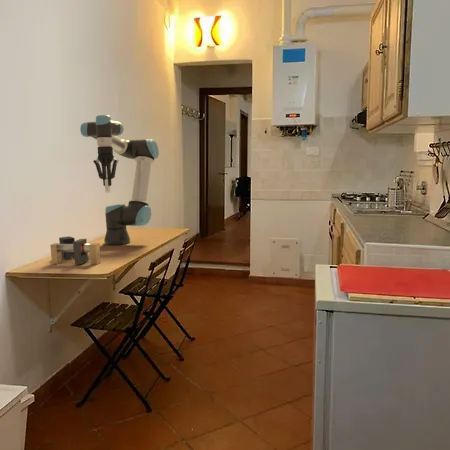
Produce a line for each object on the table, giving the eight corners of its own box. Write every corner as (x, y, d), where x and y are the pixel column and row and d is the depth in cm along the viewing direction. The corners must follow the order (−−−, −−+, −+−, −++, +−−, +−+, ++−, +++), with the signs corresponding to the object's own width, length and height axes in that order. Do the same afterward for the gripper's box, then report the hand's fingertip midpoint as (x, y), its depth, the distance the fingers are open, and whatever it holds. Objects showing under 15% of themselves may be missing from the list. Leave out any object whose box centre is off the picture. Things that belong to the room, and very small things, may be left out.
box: (76, 258, 239) (74, 237, 238) (64, 259, 236) (63, 239, 234) (71, 256, 245) (69, 236, 244) (60, 257, 242) (58, 237, 241)
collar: (74, 264, 222) (72, 241, 220) (82, 260, 229) (80, 238, 228) (80, 264, 221) (78, 241, 220) (88, 260, 229) (86, 238, 227)
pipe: (51, 264, 226) (50, 244, 225) (56, 262, 230) (54, 243, 229) (96, 264, 222) (95, 244, 221) (100, 262, 226) (99, 243, 225)
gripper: (89, 146, 238) (92, 193, 241) (114, 145, 236) (117, 192, 239) (96, 146, 245) (99, 192, 248) (119, 145, 243) (122, 191, 246)
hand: (107, 192), depth 244 cm, fingers closed
